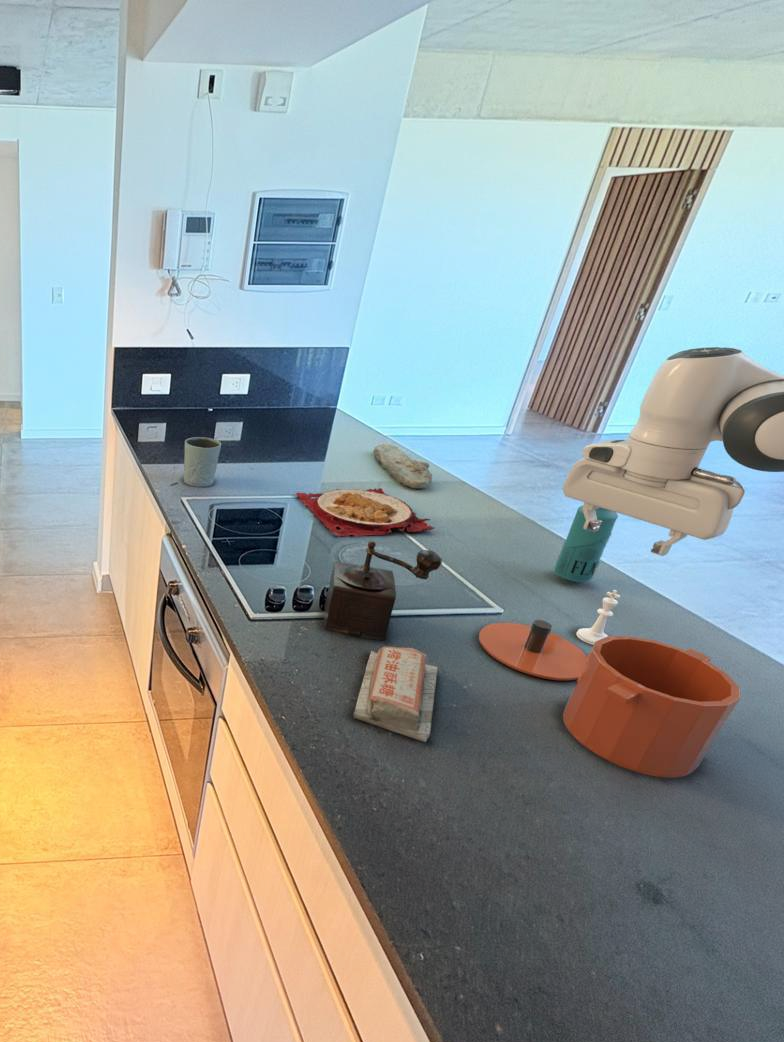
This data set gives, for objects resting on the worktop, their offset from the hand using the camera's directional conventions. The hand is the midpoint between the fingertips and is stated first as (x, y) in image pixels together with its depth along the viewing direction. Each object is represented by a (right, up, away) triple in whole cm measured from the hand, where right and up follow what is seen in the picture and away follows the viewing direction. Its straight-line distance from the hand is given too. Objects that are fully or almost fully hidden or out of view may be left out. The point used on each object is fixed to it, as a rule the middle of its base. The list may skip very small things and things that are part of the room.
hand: (623, 541), depth 98 cm
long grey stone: (+12, +21, +87) cm, 91 cm away
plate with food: (-14, +7, +59) cm, 61 cm away
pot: (-10, -28, -11) cm, 32 cm away
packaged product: (-38, -24, -3) cm, 45 cm away
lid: (-10, -19, +6) cm, 22 cm away
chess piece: (+4, -17, +10) cm, 21 cm away
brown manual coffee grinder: (-34, -16, +15) cm, 40 cm away
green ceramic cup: (-50, +17, +81) cm, 97 cm away
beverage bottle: (+14, -8, +28) cm, 33 cm away
